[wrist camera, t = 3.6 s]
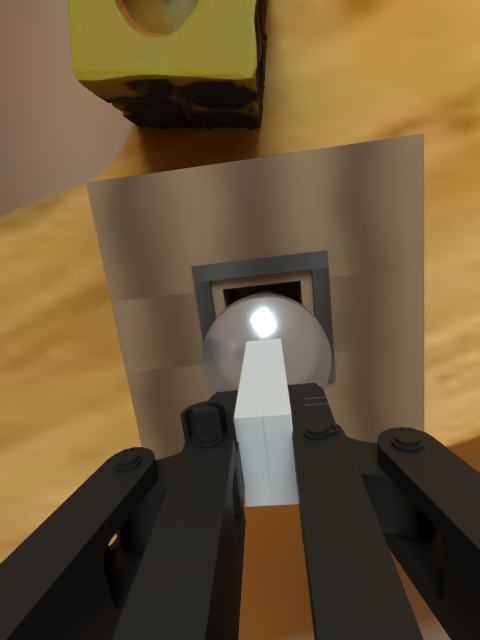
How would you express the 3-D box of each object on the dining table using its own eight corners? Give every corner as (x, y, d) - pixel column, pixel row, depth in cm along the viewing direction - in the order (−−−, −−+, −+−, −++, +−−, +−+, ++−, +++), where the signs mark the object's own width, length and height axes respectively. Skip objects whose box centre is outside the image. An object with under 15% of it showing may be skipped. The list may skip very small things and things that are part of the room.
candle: (269, -25, 26) (273, -177, 16) (263, 131, 28) (263, 81, 19) (129, -23, 26) (51, -169, 17) (135, 130, 29) (70, 80, 19)
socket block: (172, 412, 35) (143, 469, 26) (132, 194, 30) (82, 181, 22) (386, 395, 33) (427, 450, 25) (379, 159, 28) (427, 131, 20)
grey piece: (227, 363, 26) (210, 425, 18) (216, 279, 24) (192, 305, 16) (312, 355, 25) (335, 415, 17) (305, 269, 24) (327, 291, 16)
